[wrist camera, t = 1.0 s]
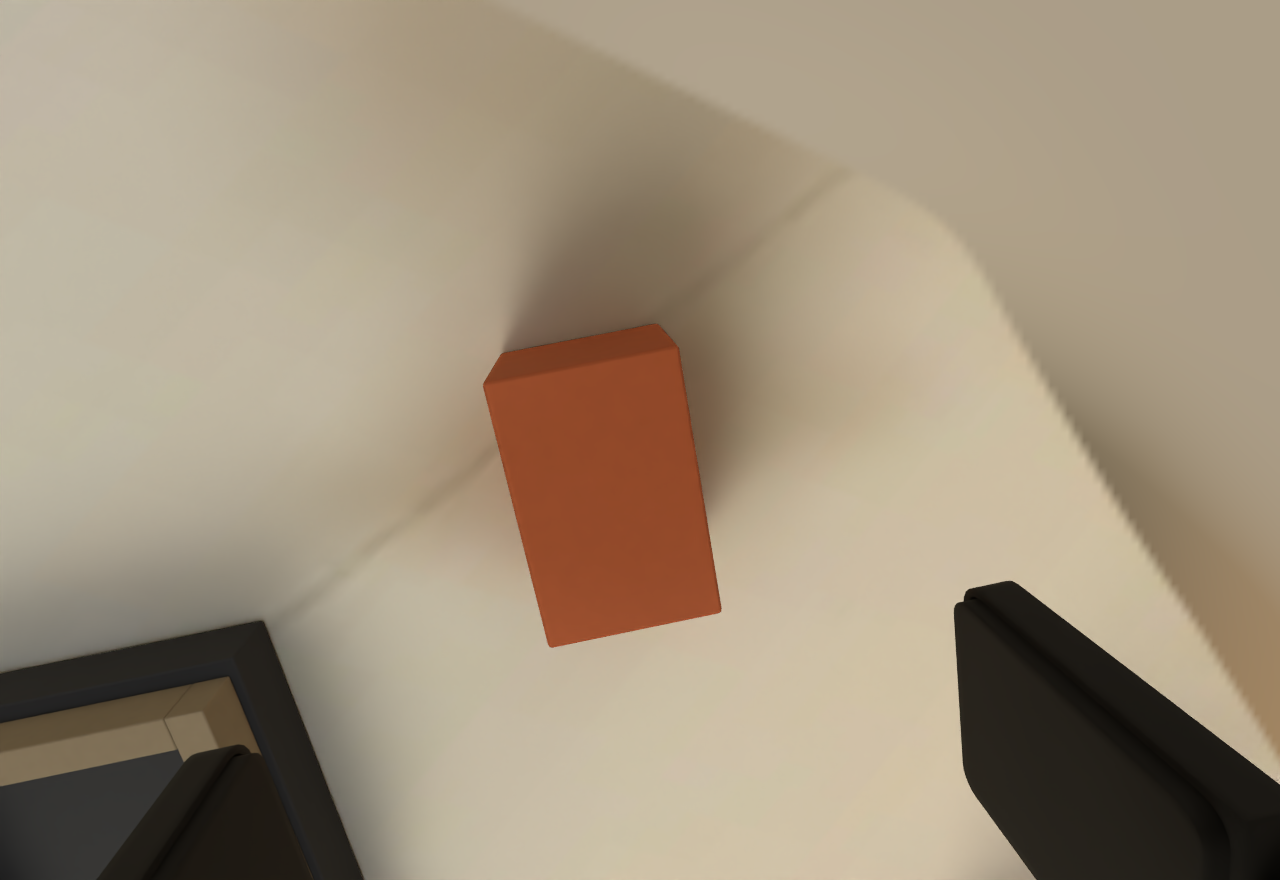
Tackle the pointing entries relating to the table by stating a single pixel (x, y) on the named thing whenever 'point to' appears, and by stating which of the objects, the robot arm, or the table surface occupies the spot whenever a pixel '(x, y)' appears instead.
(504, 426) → the orange rectangular block
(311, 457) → the table surface
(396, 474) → the table surface
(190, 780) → the robot arm
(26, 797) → the backrest board
